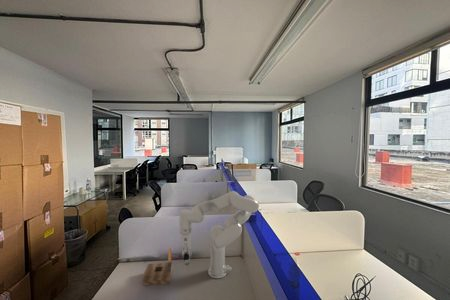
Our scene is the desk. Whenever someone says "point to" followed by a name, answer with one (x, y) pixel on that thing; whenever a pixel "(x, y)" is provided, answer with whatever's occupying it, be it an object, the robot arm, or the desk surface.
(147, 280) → the hitch block
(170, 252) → the bar
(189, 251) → the silver rounded cylinder
